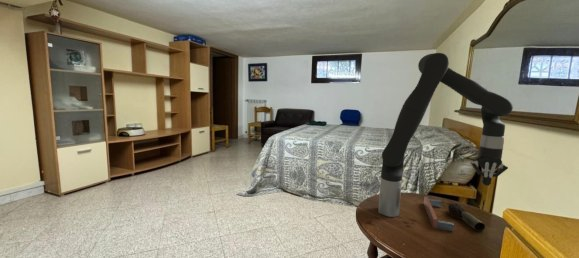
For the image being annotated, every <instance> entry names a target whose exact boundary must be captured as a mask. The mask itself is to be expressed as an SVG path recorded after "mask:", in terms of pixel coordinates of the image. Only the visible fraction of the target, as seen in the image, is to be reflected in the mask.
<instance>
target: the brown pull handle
mask: <svg viewBox="0 0 579 258" xmlns="http://www.w3.org/2000/svg"><path fill="white" fill-rule="evenodd" d="M423 205H424V209H425V211H426V213H427V215H428V218H429V219H428V220H429V221H430V224H431V226H432V228H433V229H438V230H444V231H448V232H454V229H455V224H454V222H451V221H450V222H449V221H444V220H438V217H437V215H436V212H435V210H434V208H442V200H440V199H431V198H429V197H428V196H424V199H423ZM433 207H434V208H433Z"/></svg>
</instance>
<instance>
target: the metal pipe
mask: <svg viewBox="0 0 579 258" xmlns="http://www.w3.org/2000/svg"><path fill="white" fill-rule="evenodd" d="M448 211H449V212H448V214H449V216H450V217H451V218H453V219H457V220H462V221H464V222H465V223H466V224H468V225H469V226H470V227H471V228H473V230H475V231H476V232H483V231H484V230H485V229H486V224H485V223H484V222H483V221H481V220H480V219H478V218H477V217H475V216H474V215H472V214H471V213H469V212H468V211H466V210H465V209H463V208H462V206H461V204H460V205H459V203H453V202H450V203H449V204H448Z"/></svg>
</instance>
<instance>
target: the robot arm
mask: <svg viewBox="0 0 579 258" xmlns="http://www.w3.org/2000/svg"><path fill="white" fill-rule="evenodd" d="M449 66H450V60H449V57H448V55H446V54H445V53H442V52H434V53H428V54H426V55H424V56H423V57H421V58H420V60H419V62H418V64H417V67H418V70H419V73H421V74H420V77H419V80H418V82H417V84H416V86H415V87H414V89H413V90H412V91H411V93H410V94H409V95H408V97H407V98H406V100H405V101H404V103H403V104H402V107H401V109H400V112H399V114H398V116H397V119H396V123H395V126H394V129H393V133H392V135H391V137H390V138H389V139H390V140H389V141H388V143H387V145H386V146H385V147H384V149H383V150H382V153H381V159H382V165H381V171H380V172H381V173H380V183H379V196H378V209H377V210H378V214H381V215H383V216H385V217H390V218H392V217H393V218H394V217H396V218H397V217H398V216H399V215H400V208H401V207H400V206H401V195H402V194H401V193H402V184H403V183H402V182H403V172H404V163H405V162H404V161H405V154H406V152H407V151H406V150H407V148H408V145H409V144H410V140H412V138H413V136H414V134H415V133H416V131H418V127H419V126H420V124H421V122H422V120H423V118H424V116H425V113H426V112H427V109H428V107H429V106H430V103H431V101H432V98H433V96H434V93H435V91H436V89H437V87H438V85H439V84H440V83H441V84H444V85H445V86H446V87H448V88H450V89H451V90H452V91H454V92H455V93H457V94H459V96H461V97H464V98H465V99H466V100H468V101H469V102H471V103H472V104H475V105H477V106H481V109H480V115H481V120H482V124H483V125H482V131H481V132H482V133H481V136H480V142H479V150H478V155H477V158H476V160H474V161H471V162H470V163H469V164H470V165H471V167H472V168H473V169H474V170H475V172H476V173H477V175H479V176H481V184H482V185H484V186H487V187H489V186H490V185H491V184H492V178H493V177H494V178H498V177H499V176H501V174H503V173H504V172H506V171H507V169H509V167H508V166H507V165H505V164H504V163H503V161H502V158H503V150H504V144H505V143H504V142H505V141H504V140H505V139H504V137H505V130H506V124H505V123H504V122H502V121H501V119H500V117H504V116H505V117H506V116H508V115H510V114H511V113H512V111H513V109H514V107H513V103H512V102H511V100H509V99H508V98H506V97H504V96H502V95H500V94H497V93H496V92H493V91H490V90H488V89H487V88H486V87H484V86H483V85H482V84H480V83H479V82H476V80H474V79H471V78H469V77H467V76H465V75H463V74H461V73H458V72H457V71H455V70H453V69H452V68H450V67H449ZM479 166H480V167H481V169H480V168H479Z"/></svg>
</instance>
